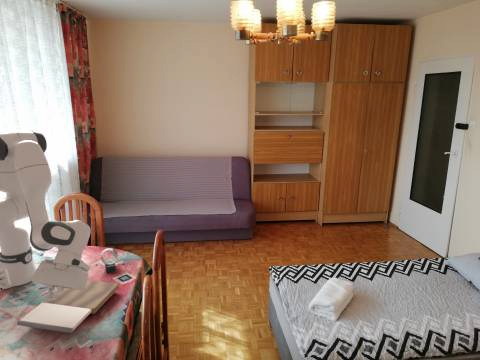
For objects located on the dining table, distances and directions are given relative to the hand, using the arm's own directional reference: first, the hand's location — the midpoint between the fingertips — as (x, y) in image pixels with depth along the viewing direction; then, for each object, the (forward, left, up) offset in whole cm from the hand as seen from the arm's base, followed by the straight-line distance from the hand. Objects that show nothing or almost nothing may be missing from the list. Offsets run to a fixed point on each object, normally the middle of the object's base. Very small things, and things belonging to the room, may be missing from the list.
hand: (51, 299), depth 122 cm
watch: (-2, +42, -12) cm, 44 cm away
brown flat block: (+1, +16, -11) cm, 20 cm away
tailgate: (+1, +6, -7) cm, 10 cm away
